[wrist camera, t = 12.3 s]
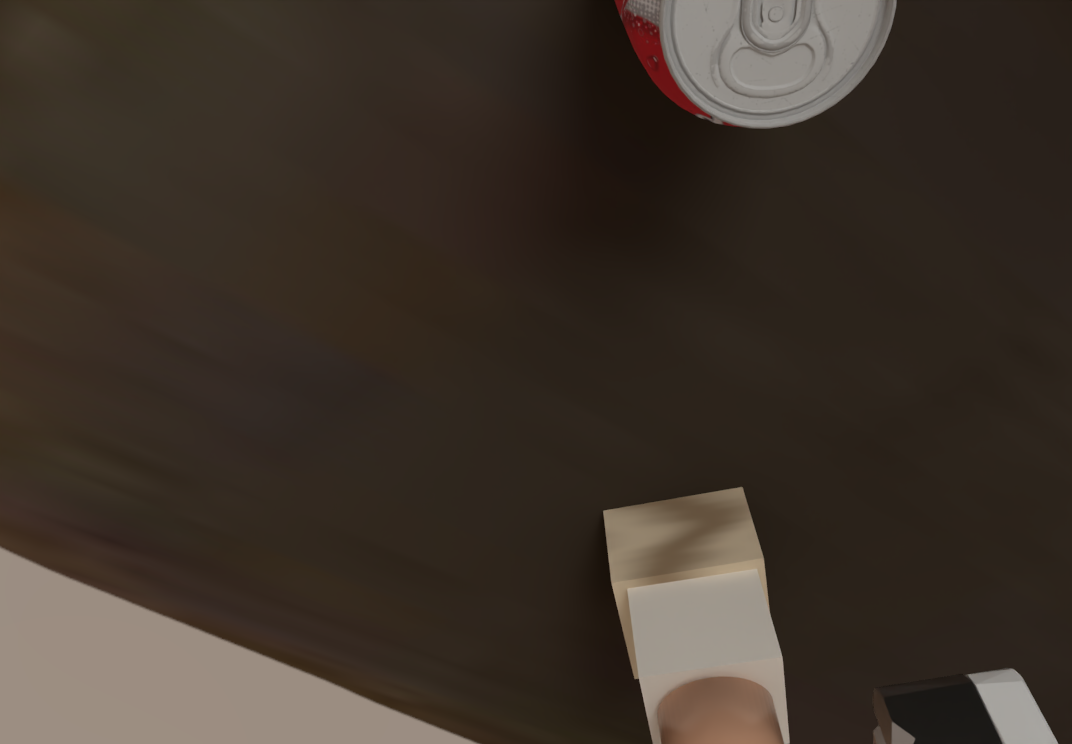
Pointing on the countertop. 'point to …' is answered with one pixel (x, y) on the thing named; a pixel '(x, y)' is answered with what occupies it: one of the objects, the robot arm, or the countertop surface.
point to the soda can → (757, 54)
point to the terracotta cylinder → (719, 713)
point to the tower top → (705, 638)
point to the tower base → (679, 545)
